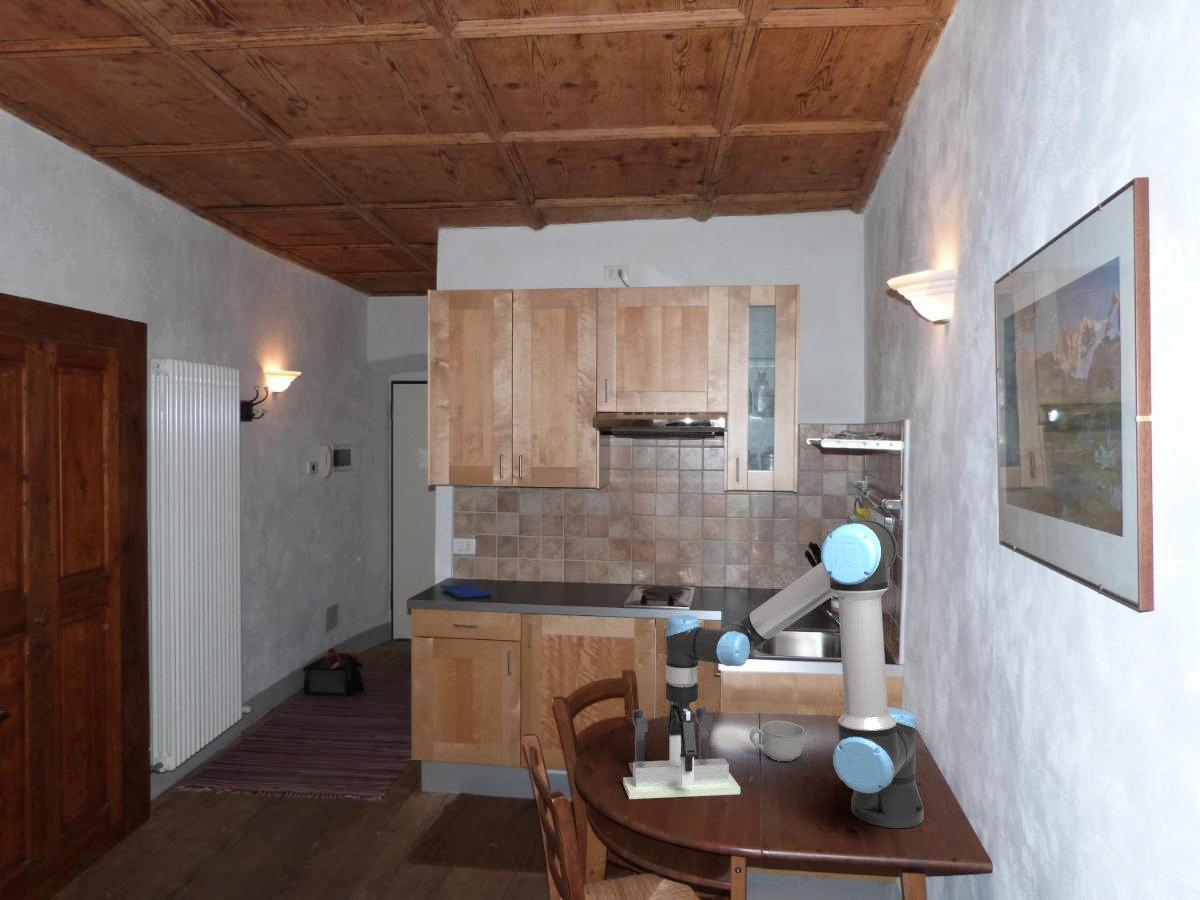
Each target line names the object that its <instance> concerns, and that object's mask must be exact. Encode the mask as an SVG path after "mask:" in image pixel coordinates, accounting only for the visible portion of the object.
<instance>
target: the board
mask: <svg viewBox="0 0 1200 900" xmlns="http://www.w3.org/2000/svg"><path fill="white" fill-rule="evenodd" d="M622 784H623V787H624V789H625V792H626V795H627V796H628V800H638V799H640V800H641V799H657V798H659V799H660V798H679V797H680V798H681V797H684V798H685V797H686V798H687V797H702V796H703V797H705V796H706V797H707V796H709V797H710V796H729V795H730V796H731V795H741V786H740V785H739V784H738V782H737V781H736V780H735V778H734V776H733V775H732V774H731V773H730V772H729V784H710V785H686V786H663V787H639V788H636V787H635V784H634V782H633V776H629V777H628V776H627V777H625V776H624V777H622Z"/></svg>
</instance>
